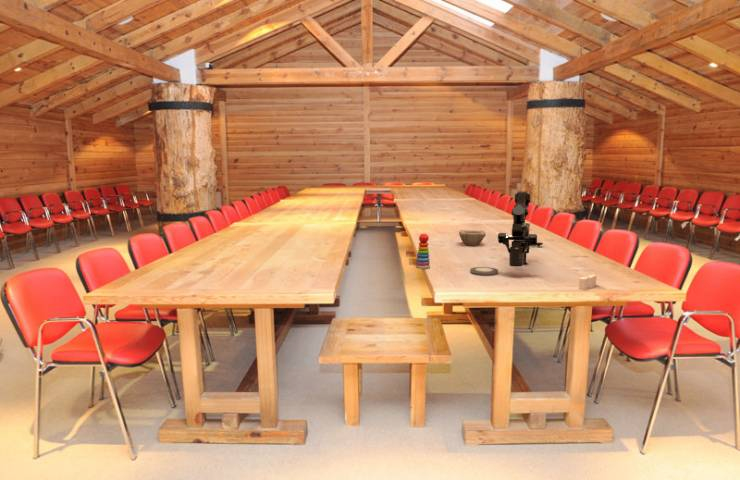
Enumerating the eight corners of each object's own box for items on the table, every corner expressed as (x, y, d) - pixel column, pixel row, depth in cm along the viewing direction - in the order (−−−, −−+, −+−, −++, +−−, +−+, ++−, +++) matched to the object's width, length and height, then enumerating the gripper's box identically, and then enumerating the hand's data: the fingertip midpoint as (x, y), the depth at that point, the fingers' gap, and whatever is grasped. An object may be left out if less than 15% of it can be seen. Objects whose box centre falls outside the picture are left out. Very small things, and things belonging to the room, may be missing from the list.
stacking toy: (418, 270, 288) (418, 234, 285) (413, 266, 295) (413, 232, 292) (432, 269, 290) (432, 234, 287) (426, 266, 297) (427, 232, 294)
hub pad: (490, 269, 289) (490, 265, 288) (503, 274, 275) (503, 271, 275) (465, 270, 285) (465, 267, 285) (477, 276, 272) (477, 273, 271)
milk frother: (511, 245, 359) (512, 223, 356) (532, 244, 363) (533, 221, 361) (523, 249, 345) (524, 225, 343) (545, 247, 350) (546, 224, 347)
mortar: (484, 243, 368) (484, 229, 367) (485, 247, 352) (485, 233, 350) (458, 242, 371) (458, 229, 369) (459, 247, 354) (459, 233, 353)
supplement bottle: (521, 263, 274) (522, 240, 272) (524, 266, 267) (525, 242, 265) (507, 264, 274) (508, 240, 272) (510, 266, 267) (511, 242, 265)
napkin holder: (593, 284, 256) (594, 272, 256) (608, 290, 245) (609, 278, 244) (564, 286, 254) (564, 274, 253) (577, 292, 243) (578, 279, 242)
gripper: (498, 216, 273) (495, 242, 265) (537, 218, 267) (535, 244, 259) (500, 230, 282) (497, 255, 274) (537, 231, 276) (535, 257, 268)
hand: (516, 252), depth 268 cm, fingers closed on supplement bottle, 7 cm apart
